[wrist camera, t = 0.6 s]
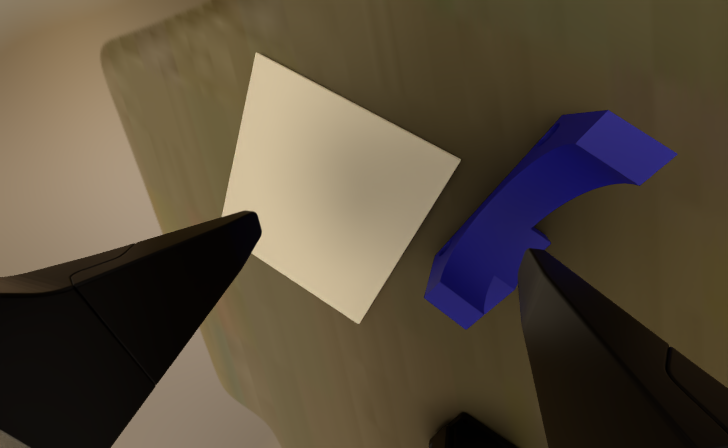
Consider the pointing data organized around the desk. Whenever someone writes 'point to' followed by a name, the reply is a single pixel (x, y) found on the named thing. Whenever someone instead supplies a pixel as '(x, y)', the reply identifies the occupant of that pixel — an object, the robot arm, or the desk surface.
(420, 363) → the desk surface
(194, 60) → the desk surface
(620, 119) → the cable clip
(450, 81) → the desk surface
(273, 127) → the desk mat
